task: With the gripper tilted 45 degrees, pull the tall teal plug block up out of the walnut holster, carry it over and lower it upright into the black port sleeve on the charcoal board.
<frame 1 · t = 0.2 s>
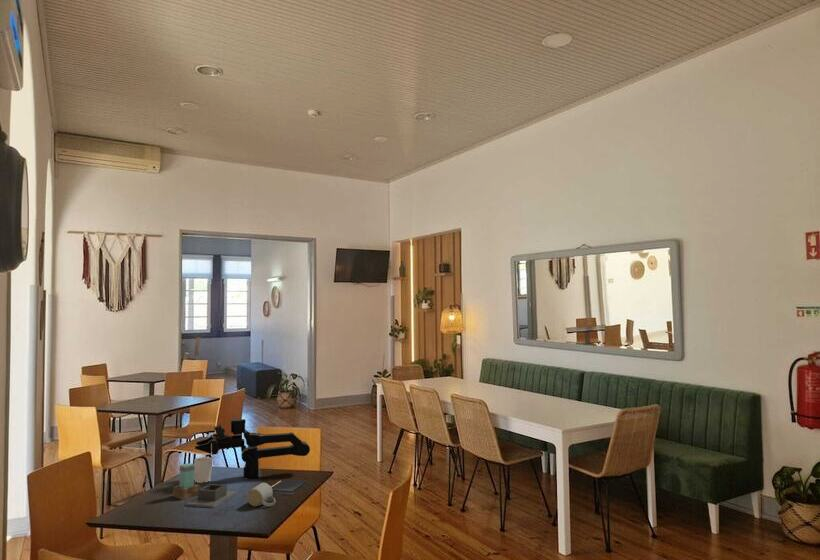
hand: (195, 445, 257), 17 cm above the table, tool horizontal, fingers open, 9 cm apart
white cup: (202, 481, 257), on the table
holster: (186, 495, 235), on the table
plug: (186, 480, 236), in the holster
grey flat slab: (286, 489, 246), on the table
port board: (212, 499, 230), on the table
ceramic mug: (262, 505, 224), on the table
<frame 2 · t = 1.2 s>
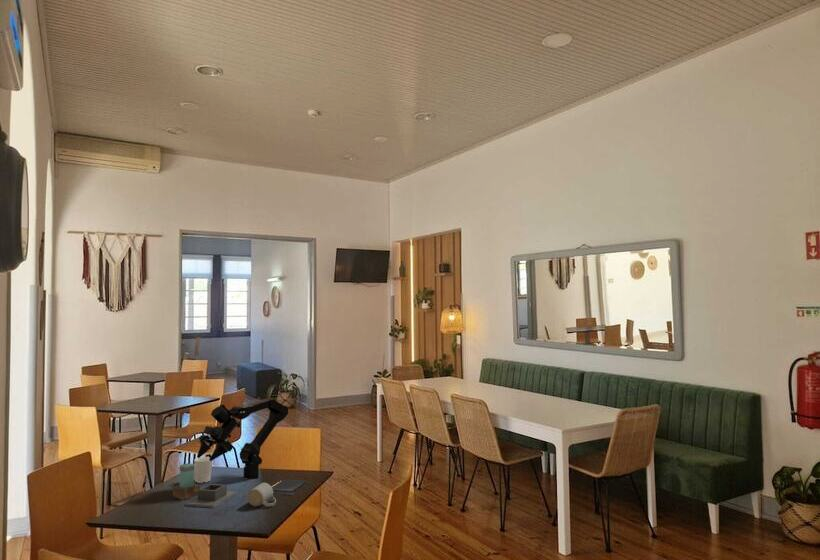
hand: (203, 459, 243), 14 cm above the table, tool tilted 45°, fingers open, 9 cm apart
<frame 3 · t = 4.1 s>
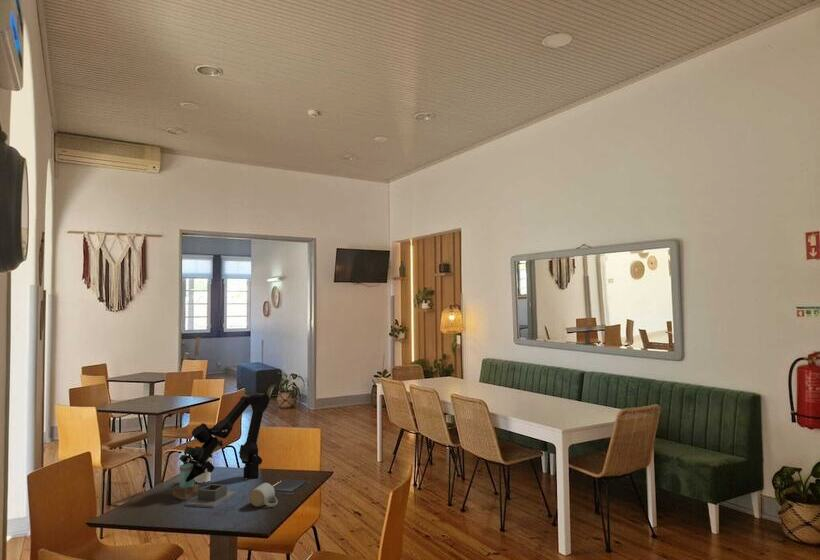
hand: (183, 480, 235), 7 cm above the table, tool tilted 45°, fingers closed on plug, 4 cm apart
plug: (186, 480, 236), in the holster, touching gripper
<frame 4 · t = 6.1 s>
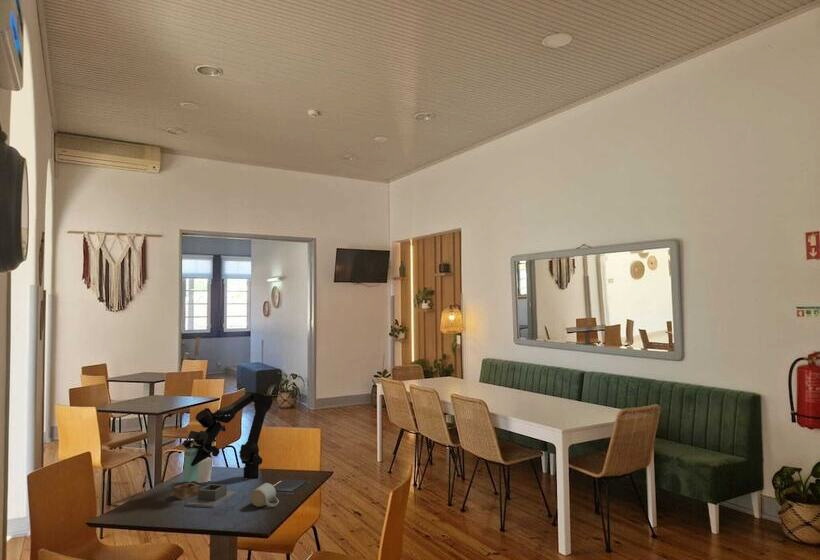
hand: (188, 465, 234), 13 cm above the table, tool tilted 45°, fingers closed on plug, 4 cm apart
plug: (191, 464, 235), point 13 cm above the table, touching gripper
when the fingers open (9 cm above the table, at t = 8.2 s): plug drops 1 cm, resting on port board.
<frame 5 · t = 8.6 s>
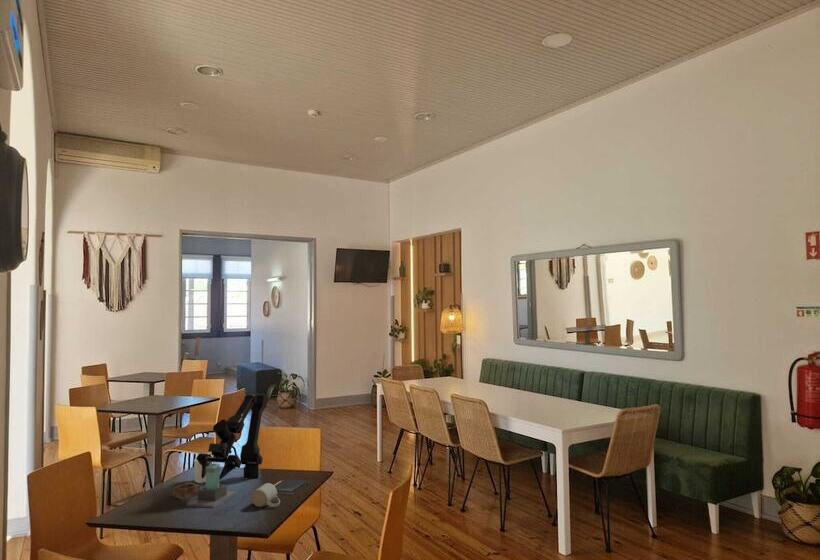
hand: (210, 478, 229), 9 cm above the table, tool tilted 45°, fingers open, 8 cm apart
plug: (212, 481, 230), in the port board, point 8 cm above the table
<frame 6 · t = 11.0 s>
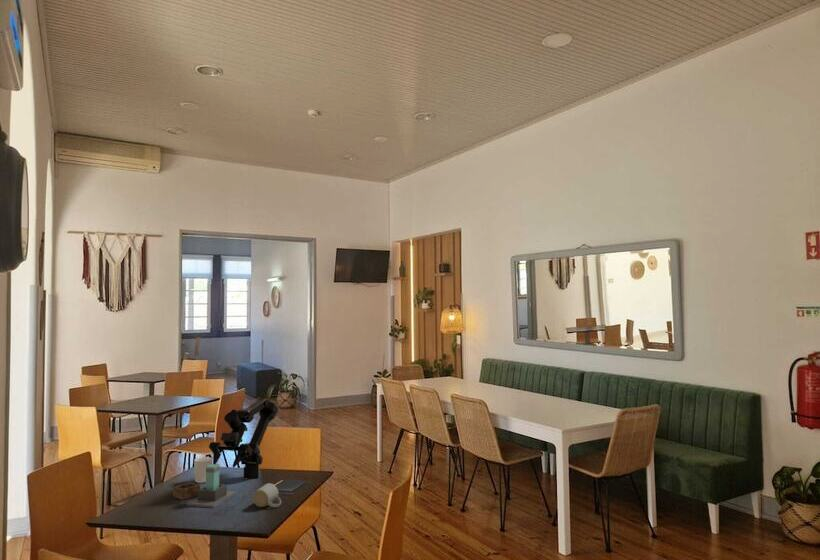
hand: (223, 466, 239), 11 cm above the table, tool tilted 45°, fingers open, 9 cm apart
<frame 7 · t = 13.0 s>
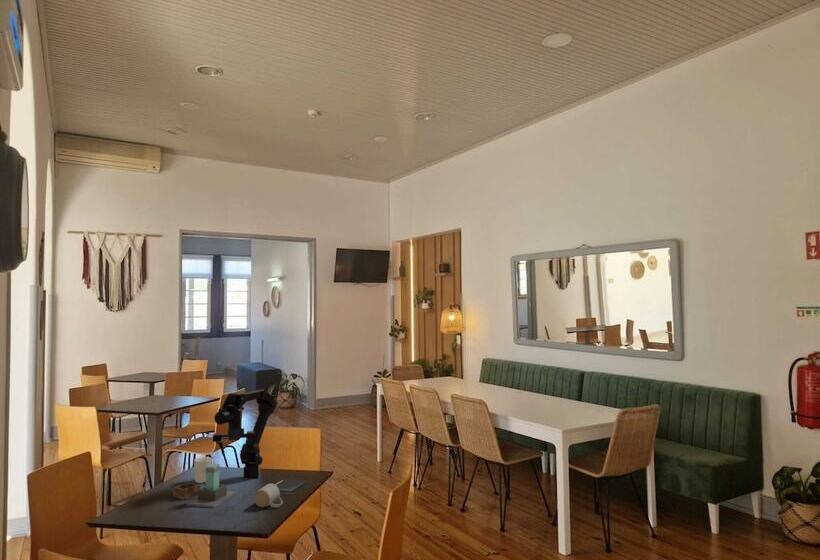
hand: (234, 455, 252), 13 cm above the table, tool pointing down, fingers open, 9 cm apart
at the end: plug 0.0 cm off-centre on the port board, point 7.5 cm above the port board's base; plug tilted 0°; the gripper is holding nothing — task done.
